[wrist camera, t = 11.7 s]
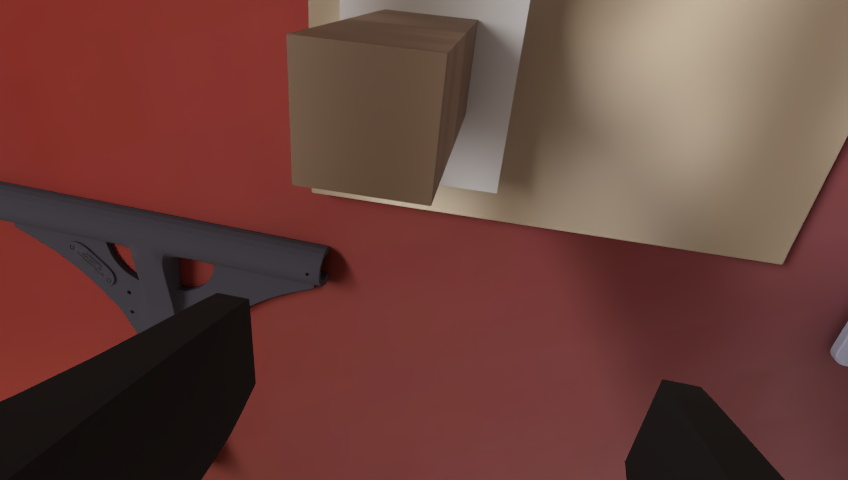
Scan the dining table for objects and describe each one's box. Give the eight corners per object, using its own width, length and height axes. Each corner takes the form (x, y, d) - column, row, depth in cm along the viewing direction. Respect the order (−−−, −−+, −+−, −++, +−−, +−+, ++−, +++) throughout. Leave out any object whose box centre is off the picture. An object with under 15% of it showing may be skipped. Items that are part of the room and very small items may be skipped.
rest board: (1037, -272, 11) (1059, -282, 10) (775, 257, 17) (782, 264, 16) (310, -307, 12) (302, -317, 12) (316, 187, 18) (311, 192, 18)
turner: (541, -72, 13) (567, -125, 6) (498, 176, 17) (484, 322, 10) (357, -90, 14) (191, -156, 7) (352, 155, 17) (236, 279, 10)
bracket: (81, 417, 29) (41, 458, 26) (8, 174, 21) (-57, 200, 19) (325, 473, 27) (306, 522, 25) (335, 237, 20) (310, 273, 18)
